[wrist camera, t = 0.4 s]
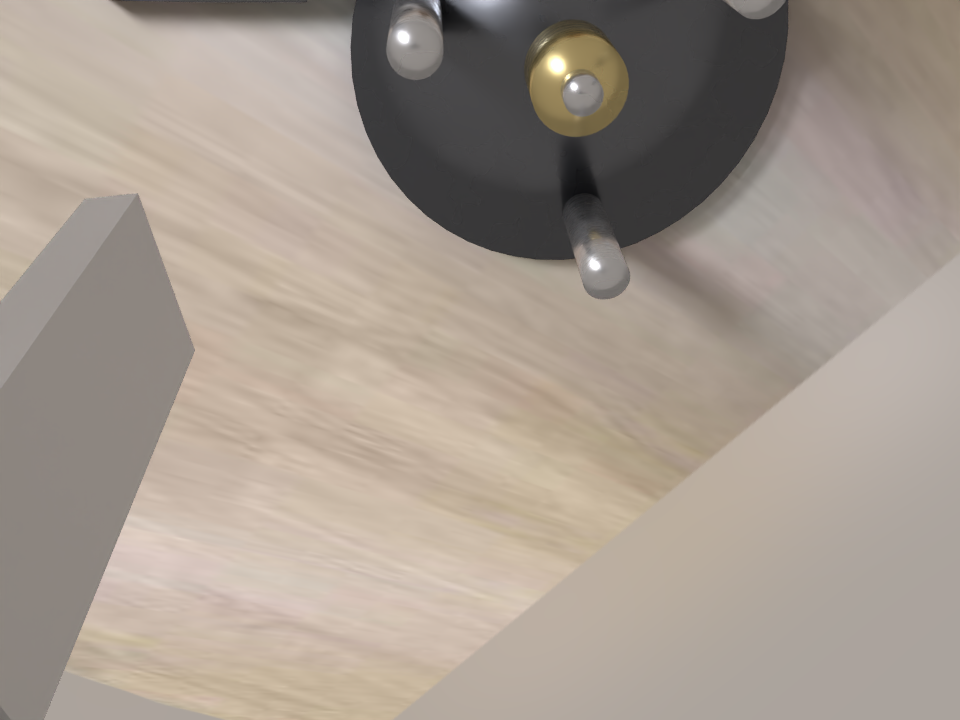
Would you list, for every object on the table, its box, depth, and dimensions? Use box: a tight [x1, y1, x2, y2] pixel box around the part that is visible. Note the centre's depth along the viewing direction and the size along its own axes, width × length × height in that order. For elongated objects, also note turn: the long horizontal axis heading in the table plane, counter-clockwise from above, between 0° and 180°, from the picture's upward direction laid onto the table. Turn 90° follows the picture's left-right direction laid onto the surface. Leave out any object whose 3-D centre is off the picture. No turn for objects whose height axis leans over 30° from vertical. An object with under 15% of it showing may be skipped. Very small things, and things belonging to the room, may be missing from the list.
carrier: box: [351, 0, 788, 299], centre depth 33 cm, size 19×19×8 cm
